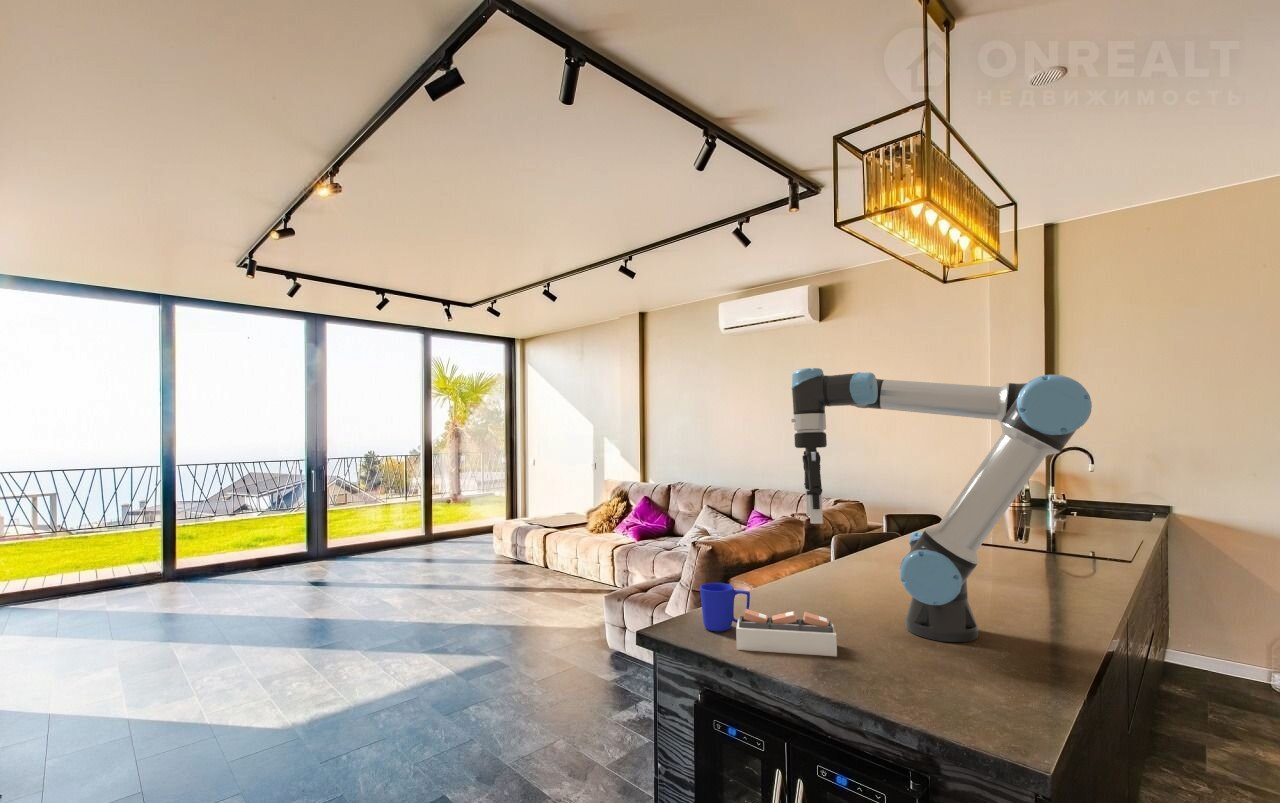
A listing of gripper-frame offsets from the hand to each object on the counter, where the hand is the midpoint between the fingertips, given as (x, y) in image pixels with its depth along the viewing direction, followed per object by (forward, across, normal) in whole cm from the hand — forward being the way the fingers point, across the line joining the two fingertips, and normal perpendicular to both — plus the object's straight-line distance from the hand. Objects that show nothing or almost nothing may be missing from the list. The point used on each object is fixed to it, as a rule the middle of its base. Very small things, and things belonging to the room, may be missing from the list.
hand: (814, 519), depth 139 cm
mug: (+26, +2, -22) cm, 35 cm away
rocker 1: (+21, +12, -15) cm, 28 cm away
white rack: (+26, +12, -8) cm, 30 cm away
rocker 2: (+21, +12, -8) cm, 25 cm away
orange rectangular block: (+21, +12, -2) cm, 24 cm away
